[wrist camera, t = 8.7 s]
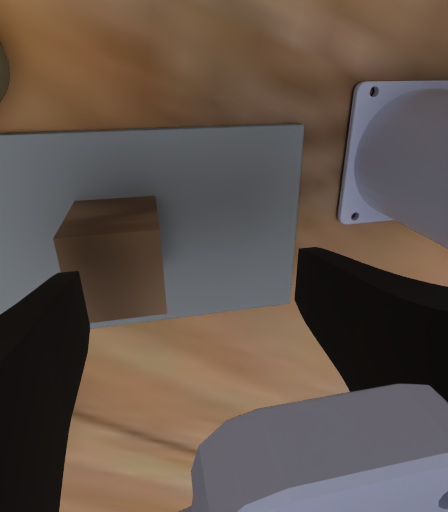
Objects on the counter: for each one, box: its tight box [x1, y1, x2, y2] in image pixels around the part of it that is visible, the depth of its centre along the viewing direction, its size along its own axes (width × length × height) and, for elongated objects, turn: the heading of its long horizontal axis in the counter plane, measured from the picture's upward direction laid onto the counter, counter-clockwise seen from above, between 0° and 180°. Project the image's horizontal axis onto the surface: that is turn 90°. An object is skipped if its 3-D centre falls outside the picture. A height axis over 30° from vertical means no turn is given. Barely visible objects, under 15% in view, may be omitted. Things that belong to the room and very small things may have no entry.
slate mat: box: [0, 123, 304, 329], centre depth 20 cm, size 18×11×1 cm, turn 90°
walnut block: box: [53, 196, 167, 323], centre depth 17 cm, size 4×4×5 cm
